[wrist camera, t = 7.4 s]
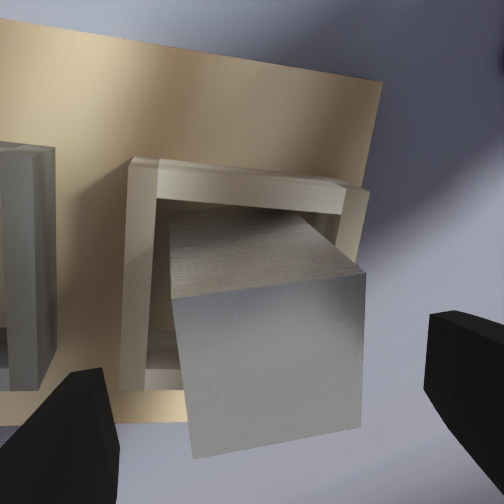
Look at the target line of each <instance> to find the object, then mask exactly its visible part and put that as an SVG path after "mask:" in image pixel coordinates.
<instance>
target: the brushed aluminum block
mask: <svg viewBox="0 0 504 504" xmlns="http://www.w3.org/2000/svg"><path fill="white" fill-rule="evenodd" d="M169 230H170V270H171V301H172V308H173V316H174V323H175V330H176V338H177V345H178V352H179V359H180V367H181V374H182V381H183V389H184V396H185V403H186V411H187V418H188V425H189V433H190V440H191V447H192V454H193V459H198V458H203V457H209V456H214V455H219V454H224V453H229V452H235V451H240V450H245V449H250V448H255V447H260V446H266V445H271V444H276V443H281V442H286V441H292V440H297V439H302V438H307V437H312V436H317V435H323V434H328V433H333V432H338V431H343V430H349V429H354V428H359V427H361V408H362V379H363V350H364V320H365V291H366V272H365V271H363V270H362V269H361V268H360V267H359V266H357V265H356V264H355V263H354V262H353V261H352V260H350V259H349V258H348V257H347V256H346V255H345V254H343V253H342V252H341V251H340V250H339V249H338V248H336V247H335V246H334V245H333V244H332V243H330V242H329V241H328V240H327V239H326V238H325V237H323V236H322V235H321V234H320V233H319V232H318V231H316V230H315V229H314V228H313V227H312V226H311V225H309V224H308V223H307V222H306V221H305V220H303V219H302V218H301V217H300V216H299V215H298V214H296V213H295V212H294V211H293V210H285V209H274V208H263V207H251V206H240V205H237V206H227V207H217V208H208V209H198V210H188V211H178V212H169Z"/></svg>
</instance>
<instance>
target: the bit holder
mask: <svg viewBox="0 0 504 504" xmlns="http://www.w3.org/2000/svg"><path fill="white" fill-rule="evenodd" d="M382 87H383V82H380V81H374V80H368V79H362V78H356V77H350V76H344V75H338V74H332V73H326V72H320V71H314V70H308V69H302V68H296V67H290V66H284V65H278V64H272V63H266V62H260V61H254V60H248V59H242V58H236V57H230V56H224V55H218V54H212V53H206V52H200V51H194V50H188V49H181V48H175V47H169V46H163V45H157V44H151V43H145V42H139V41H133V40H127V39H121V38H115V37H109V36H103V35H97V34H91V33H85V32H79V31H73V30H67V29H61V28H55V27H49V26H43V25H37V24H31V23H25V22H19V21H13V20H7V19H1V18H0V426H21V425H22V424H23V423H24V422H25V421H26V420H27V419H28V418H29V417H30V416H31V415H32V414H33V413H34V412H35V410H36V409H37V408H38V407H39V406H40V405H41V404H42V403H43V402H44V400H45V399H46V398H47V397H48V396H49V395H50V394H51V393H52V392H53V390H54V389H55V388H56V387H57V386H58V385H59V384H60V383H61V382H62V381H63V380H64V378H65V377H66V376H67V375H68V374H69V373H70V372H75V371H81V370H87V369H93V368H99V367H102V369H103V374H104V378H105V383H106V387H107V391H108V396H109V400H110V405H111V409H112V414H113V418H114V423H158V422H188V418H187V411H186V403H185V396H184V389H183V381H182V374H181V367H180V359H179V352H178V345H177V338H176V330H175V323H174V316H173V308H172V301H171V270H170V230H169V212H178V211H188V210H198V209H208V208H217V207H227V206H237V205H240V206H251V207H263V208H274V209H285V210H293V211H294V212H295V213H296V214H298V215H299V216H300V217H301V218H302V219H303V220H305V221H306V222H307V223H308V224H309V225H311V226H312V227H313V228H314V229H315V230H316V231H318V232H319V233H320V234H321V235H322V236H323V237H325V238H326V239H327V240H328V241H329V242H330V243H332V244H333V245H334V246H335V247H336V248H338V249H339V250H340V251H341V252H342V253H343V254H345V255H346V256H347V257H348V258H349V259H350V260H352V261H353V262H354V263H355V261H356V256H357V251H358V247H359V242H360V238H361V233H362V228H363V224H364V219H365V215H366V210H367V205H368V201H369V196H370V191H368V190H366V189H363V188H361V187H362V182H363V177H364V172H365V168H366V163H367V158H368V153H369V148H370V144H371V139H372V134H373V129H374V125H375V120H376V115H377V110H378V106H379V101H380V96H381V91H382Z"/></svg>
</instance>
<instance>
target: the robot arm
mask: <svg viewBox="0 0 504 504" xmlns="http://www.w3.org/2000/svg"><path fill="white" fill-rule="evenodd" d="M423 389H424V391H425V393H426V394H427V396H428V398H429V399H430V401H431V402H432V404H433V406H434V407H435V409H436V411H437V412H438V414H439V415H440V417H441V418H442V420H443V421H444V423H445V424H446V426H447V427H448V429H449V430H450V431H451V432H452V434H453V435H454V436H455V437H456V439H457V440H458V441H459V442H460V444H461V445H462V446H463V447H464V448H465V450H466V451H467V452H468V453H469V455H470V456H471V457H472V458H473V459H474V461H475V462H476V463H477V464H478V465H479V467H480V468H481V469H482V470H483V471H484V472H485V474H486V475H487V476H488V477H489V478H490V480H491V481H492V482H493V483H494V484H495V486H496V487H497V488H498V489H499V490H500V492H501V493H502V494H503V495H504V325H502V324H499V323H497V322H494V321H490V320H487V319H484V318H481V317H478V316H475V315H471V314H467V313H464V312H459V311H455V310H453V311H447V312H441V313H435V314H430V317H429V329H428V341H427V353H426V364H425V376H424V388H423ZM119 453H120V445H119V441H118V436H117V432H116V427H115V423H114V418H113V414H112V409H111V405H110V400H109V396H108V391H107V387H106V383H105V378H104V374H103V369H102V367H99V368H93V369H87V370H81V371H75V372H70V373H69V374H68V375H67V376H66V377H65V378H64V380H63V381H62V382H61V383H60V384H59V385H58V386H57V387H56V388H55V389H54V390H53V392H52V393H51V394H50V395H49V396H48V397H47V398H46V399H45V400H44V402H43V403H42V404H41V405H40V406H39V407H38V408H37V409H36V410H35V412H34V413H33V414H32V415H31V416H30V417H29V418H28V419H27V420H26V421H25V422H24V423H23V424H22V426H21V427H20V428H19V429H18V430H17V431H16V432H15V433H14V434H13V435H12V436H11V437H10V438H9V439H8V441H7V442H6V443H5V444H4V445H3V446H2V447H1V448H0V504H116V499H117V488H118V473H119Z"/></svg>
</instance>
